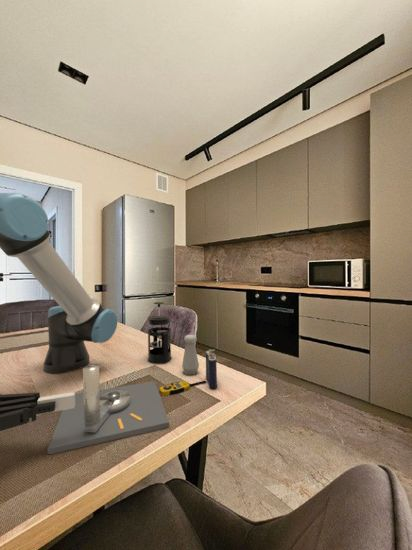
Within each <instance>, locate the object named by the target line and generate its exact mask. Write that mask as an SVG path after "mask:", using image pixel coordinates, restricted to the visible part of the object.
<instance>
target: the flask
mask: <svg viewBox="0 0 412 550" xmlns="http://www.w3.org/2000/svg"><path fill="white" fill-rule="evenodd" d="M214 351H216V349H208V350H207V351H205V377H206V379H205V381H206V384H208V389H209V390H211V391H214V390H217V389H218V380H217V379H218V375H217V374H218V373H217V371H218V370H217V355H216V354H215V353H214Z"/></svg>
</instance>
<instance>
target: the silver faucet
mask: <svg viewBox="0 0 412 550" xmlns="http://www.w3.org/2000/svg"><path fill="white" fill-rule="evenodd" d="M82 382H83V383H82V385H83V386H82V387H83V390H82V391H83V392H82V393H83V395H84V429H85V432H93V433H95V432H96V431H97V430H98V429H99V427H100V426H101V425H102V424H103V422H104V421H105V420H106V419H107V418H108V416H109V415H110V414H111V413H114V412H118V411H120V410H123V409H124V408H126V407H127V406H128V405H129V404H130V394H129V393H128V392H127V391H123V390H116V391H110V392H107V393H105V394H103V395H101V396H100V390H101V388H100V365H99V364H87V365H86V366H84V367H82Z"/></svg>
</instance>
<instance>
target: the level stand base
mask: <svg viewBox="0 0 412 550" xmlns="http://www.w3.org/2000/svg"><path fill="white" fill-rule="evenodd" d="M116 390H123V391H127V392H128V393H129V394H130V404H129V405H128V406H127V407H126V408H124V409H123V410H120V411H118V412H114V413H111V414H110V415H109V416H108V418H107V419H106V420H105V421H104V422H103V424H102V425H101V426H100V427H99V429H98V430H97V431H96V432H95V433H93V432H85V429H84V395H83V392H78V393H75V407H74V408H72V409H67V410H61V414H60V416H59V418H58V420H57V421H58V422H57V424H56V426H55V429H54V432H53V434H52V437H51V440H50V442H49V443H48V444H49V445H48V446H47V455H48V454H50V455H53V454H58V453H63V452H66V451H72V450H76V449H80V448H84V447H89V446H92V445H93V446H94V445H96V444H97V445H98V444H103V443H107V442H112V441H116V440H121V439H123V438H128V437H129V438H130V437H134V436H138V435H143V434H146V433H151V432H155V431H159V430H163V429H168V428H170V421H169V418H168V415H167V412H166V409H165V406H164V404H163V400H162V397H161V394H160V392H159V388H158V386H157V383H156V381H155V380H152V381H148V382H141V383H135V384H130V385H123V386H117V387H116V386H115V387H110V388H103V389H100V396H101V395H103V394H105V393H107V392H110V391H116Z"/></svg>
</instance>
